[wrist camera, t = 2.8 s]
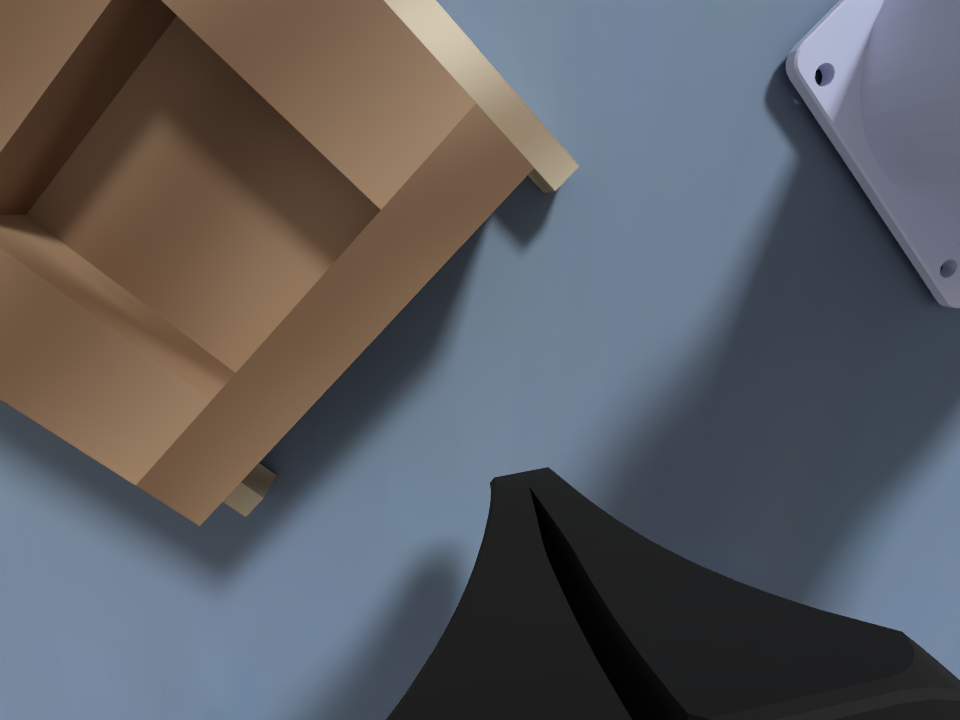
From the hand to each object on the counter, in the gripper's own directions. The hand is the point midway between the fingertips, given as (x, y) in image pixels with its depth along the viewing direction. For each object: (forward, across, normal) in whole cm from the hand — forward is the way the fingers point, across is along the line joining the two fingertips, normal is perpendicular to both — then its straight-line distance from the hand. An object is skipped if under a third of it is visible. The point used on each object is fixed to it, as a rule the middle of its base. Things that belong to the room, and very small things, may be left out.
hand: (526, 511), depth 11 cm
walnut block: (+4, +5, -7) cm, 10 cm away
